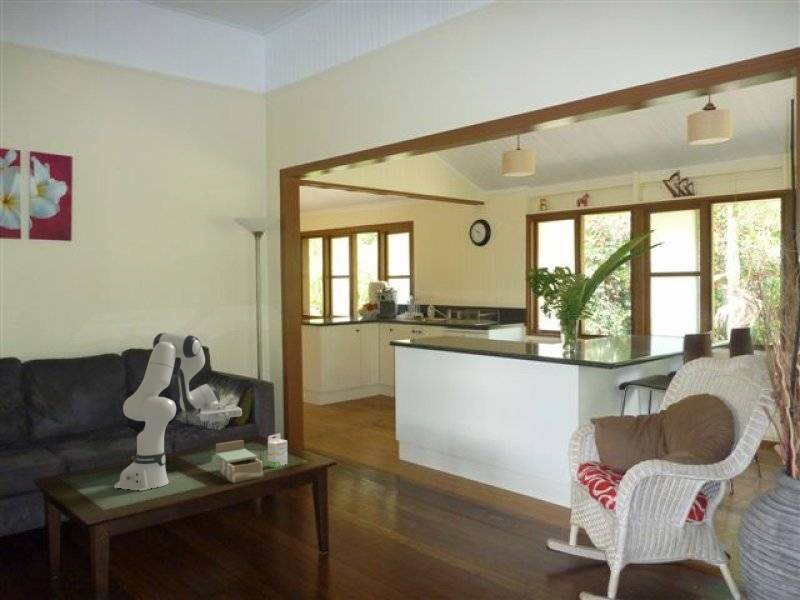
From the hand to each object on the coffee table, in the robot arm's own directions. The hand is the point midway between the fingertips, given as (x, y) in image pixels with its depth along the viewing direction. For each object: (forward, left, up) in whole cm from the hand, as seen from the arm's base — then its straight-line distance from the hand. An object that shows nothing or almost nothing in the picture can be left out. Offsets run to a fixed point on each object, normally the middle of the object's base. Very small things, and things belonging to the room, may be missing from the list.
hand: (225, 416), depth 317 cm
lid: (+9, -11, -16) cm, 22 cm away
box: (+14, -16, -24) cm, 32 cm away
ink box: (+26, +1, -24) cm, 35 cm away
